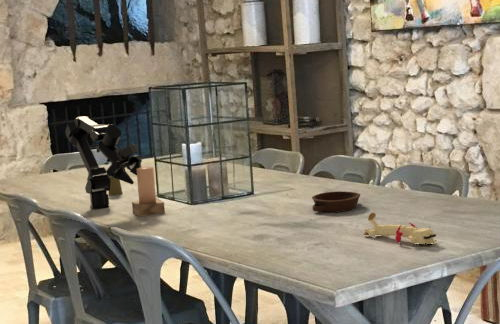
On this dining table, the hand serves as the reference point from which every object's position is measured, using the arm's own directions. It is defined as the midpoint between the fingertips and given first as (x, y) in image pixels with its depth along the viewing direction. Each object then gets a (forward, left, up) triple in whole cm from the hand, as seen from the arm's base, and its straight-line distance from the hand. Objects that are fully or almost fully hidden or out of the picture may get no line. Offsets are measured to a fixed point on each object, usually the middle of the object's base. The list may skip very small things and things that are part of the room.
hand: (139, 181), depth 335 cm
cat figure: (+56, -97, -12) cm, 113 cm away
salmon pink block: (+2, -2, -8) cm, 9 cm away
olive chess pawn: (0, +46, -12) cm, 47 cm away
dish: (+62, -42, -12) cm, 76 cm away
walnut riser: (+2, -2, -12) cm, 12 cm away
